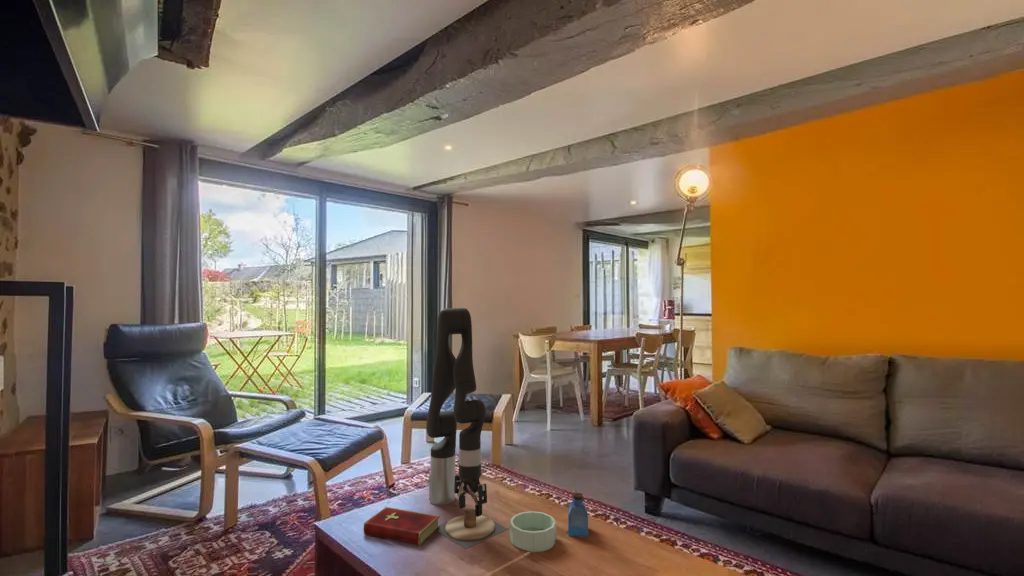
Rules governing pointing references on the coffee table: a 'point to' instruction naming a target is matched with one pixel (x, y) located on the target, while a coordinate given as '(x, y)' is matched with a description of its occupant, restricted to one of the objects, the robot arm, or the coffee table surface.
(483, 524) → the lid
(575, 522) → the perfume bottle
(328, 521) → the coffee table surface
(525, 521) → the bowl
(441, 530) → the mat
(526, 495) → the coffee table surface
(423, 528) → the hardcover book
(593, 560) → the coffee table surface
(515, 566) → the coffee table surface
